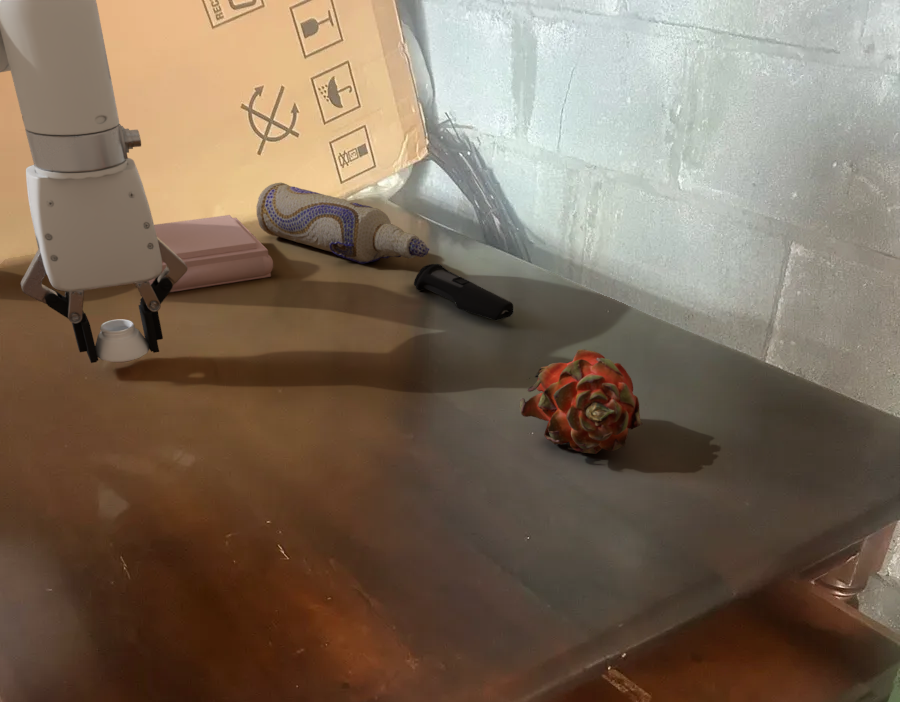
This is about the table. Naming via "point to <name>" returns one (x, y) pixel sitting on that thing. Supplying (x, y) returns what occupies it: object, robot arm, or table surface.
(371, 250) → the decorative bottle
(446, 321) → the table surface
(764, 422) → the table surface
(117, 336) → the white jar
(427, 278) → the electric trimmer
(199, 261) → the decorative box
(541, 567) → the table surface
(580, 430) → the dragon fruit
